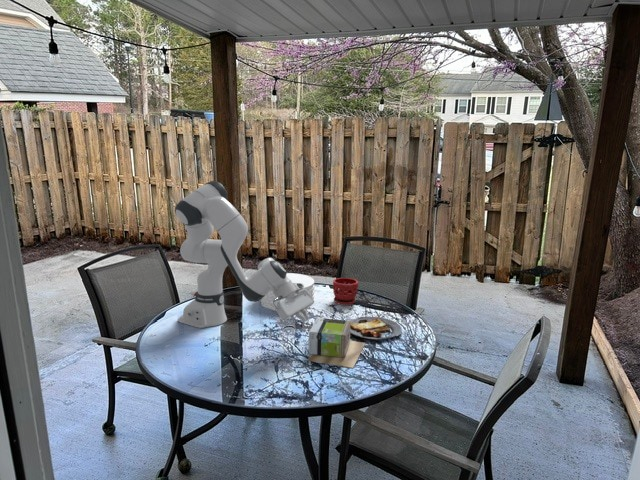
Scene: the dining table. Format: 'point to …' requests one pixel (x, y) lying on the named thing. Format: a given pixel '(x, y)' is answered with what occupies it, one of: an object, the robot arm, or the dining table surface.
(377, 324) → the food plate
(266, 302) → the plate stack
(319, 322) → the tea box
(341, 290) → the plant pot
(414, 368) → the dining table surface
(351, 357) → the cloth mat
